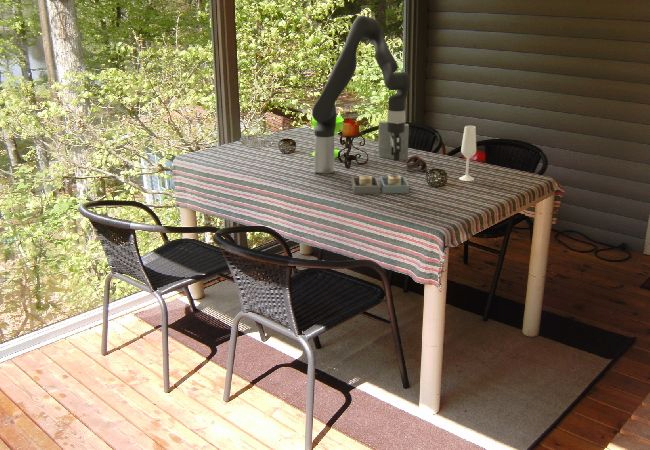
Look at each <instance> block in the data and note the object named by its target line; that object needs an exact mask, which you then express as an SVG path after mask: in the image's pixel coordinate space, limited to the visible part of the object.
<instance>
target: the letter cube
mask: <svg viewBox="0 0 650 450" xmlns="http://www.w3.org/2000/svg"><path fill="white" fill-rule="evenodd" d="M387 177H388V186H401V177H402V176H401V175H400V174H398V175H397V174H396V175H395V174H391V175H387Z"/></svg>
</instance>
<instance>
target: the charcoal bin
mask: <svg viewBox="0 0 650 450" xmlns="http://www.w3.org/2000/svg"><path fill="white" fill-rule="evenodd" d="M371 178H372V186H359V176H356V177H355V176H353V177H351V187H352V190H353V195H354V194H356V195H359V194H360V195H361V194H362V195H364V194H365V195H367V194H381V186H380V181H379V180H378V178H377V176H371Z"/></svg>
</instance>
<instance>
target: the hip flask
mask: <svg viewBox="0 0 650 450" xmlns="http://www.w3.org/2000/svg"><path fill="white" fill-rule="evenodd" d="M409 128H410V125H409V124H408V123H405V131H404V132H403V133H400V134H399V135H400V137H401V152H399V161H407V160H408V159H409V158H408V156H409V154H408V152H409V132H410V129H409ZM390 142H391V133H390V132H388V131H387V121H384V120H383V121H381V120H380V121H378V143H377V145H378V147H377V149H378V150H377V156H378V157H379V158H385V159H392V160H394V155H391V143H390ZM397 149H398V147H397Z"/></svg>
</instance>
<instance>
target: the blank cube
mask: <svg viewBox="0 0 650 450" xmlns="http://www.w3.org/2000/svg"><path fill="white" fill-rule="evenodd" d="M358 177H359V186H372V178H371V177H372V176H371V175H359V176H358Z"/></svg>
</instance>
